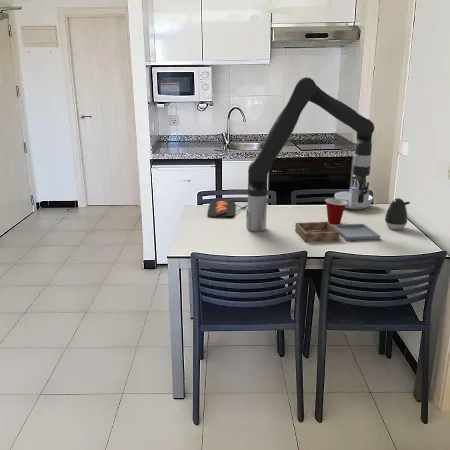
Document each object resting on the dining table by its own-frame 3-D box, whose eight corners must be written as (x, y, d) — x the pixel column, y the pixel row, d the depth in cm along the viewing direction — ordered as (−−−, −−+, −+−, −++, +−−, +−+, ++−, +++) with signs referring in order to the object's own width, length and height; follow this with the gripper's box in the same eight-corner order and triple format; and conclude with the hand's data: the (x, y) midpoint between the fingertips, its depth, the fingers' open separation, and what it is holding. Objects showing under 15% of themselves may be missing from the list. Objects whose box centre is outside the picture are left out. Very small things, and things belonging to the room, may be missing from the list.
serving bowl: (358, 214, 250) (359, 202, 248) (326, 206, 264) (327, 195, 262) (378, 207, 263) (380, 196, 261) (347, 200, 278) (348, 189, 276)
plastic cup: (345, 227, 228) (348, 204, 225) (323, 226, 230) (325, 202, 227) (345, 221, 239) (347, 198, 235) (323, 219, 241) (325, 197, 237)
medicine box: (364, 204, 217) (366, 186, 214) (367, 207, 213) (369, 188, 210) (348, 204, 217) (349, 186, 214) (350, 207, 212) (352, 188, 210)
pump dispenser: (402, 233, 221) (406, 202, 216) (381, 228, 227) (384, 198, 222) (409, 227, 228) (413, 198, 224) (388, 223, 234) (391, 194, 230)
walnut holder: (304, 242, 208) (305, 233, 207) (295, 230, 223) (295, 222, 222) (339, 240, 210) (339, 232, 209) (327, 229, 225) (327, 221, 224)
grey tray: (346, 241, 209) (346, 237, 209) (332, 228, 226) (332, 224, 226) (379, 239, 211) (380, 235, 211) (363, 227, 228) (364, 223, 228)
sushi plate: (210, 204, 270) (210, 197, 269) (261, 205, 269) (262, 198, 268) (206, 218, 242) (206, 211, 241) (264, 219, 242) (264, 212, 240)
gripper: (347, 161, 215) (344, 197, 220) (360, 167, 202) (356, 205, 207) (363, 161, 216) (359, 197, 221) (376, 167, 202) (372, 205, 208)
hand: (358, 200), depth 214 cm, fingers closed on medicine box, 4 cm apart
